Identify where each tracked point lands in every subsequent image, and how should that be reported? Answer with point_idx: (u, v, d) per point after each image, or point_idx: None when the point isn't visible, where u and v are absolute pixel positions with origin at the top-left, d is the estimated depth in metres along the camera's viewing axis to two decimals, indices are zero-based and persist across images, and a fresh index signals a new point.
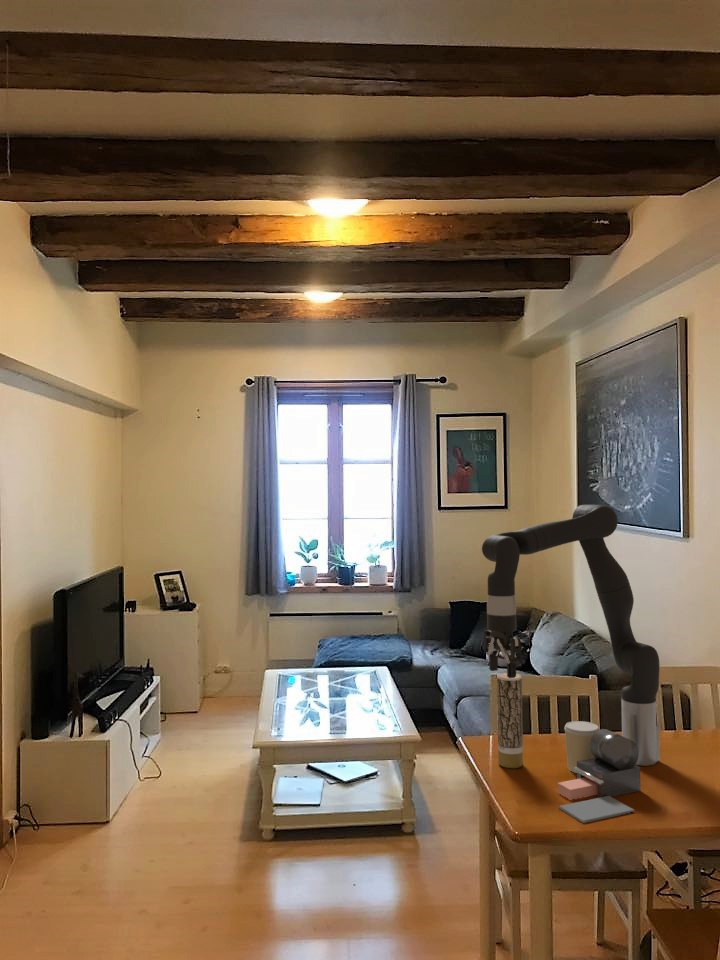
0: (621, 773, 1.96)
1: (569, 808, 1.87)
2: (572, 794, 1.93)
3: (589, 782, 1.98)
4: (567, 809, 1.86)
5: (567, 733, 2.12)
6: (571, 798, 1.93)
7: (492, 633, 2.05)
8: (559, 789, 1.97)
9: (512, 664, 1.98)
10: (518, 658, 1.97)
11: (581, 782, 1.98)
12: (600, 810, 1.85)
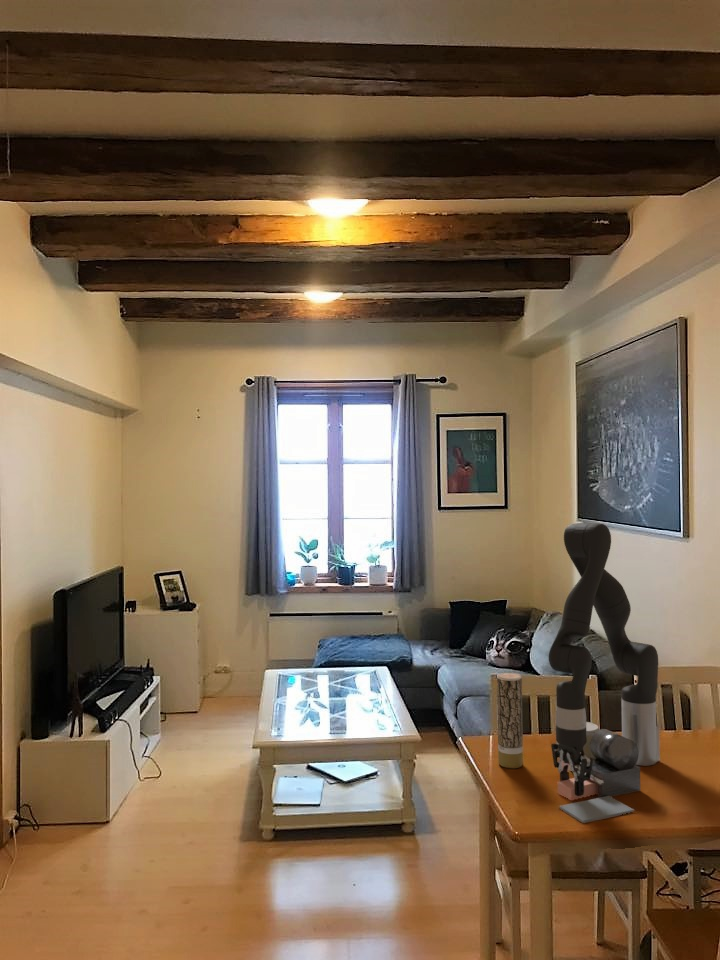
0: (621, 773, 1.96)
1: (569, 808, 1.87)
2: (572, 792, 1.93)
3: (588, 780, 1.98)
4: (567, 809, 1.86)
5: None
6: (572, 797, 1.93)
7: (560, 744, 1.99)
8: (559, 788, 1.97)
9: (580, 782, 1.93)
10: (587, 777, 1.91)
11: None
12: (600, 810, 1.85)
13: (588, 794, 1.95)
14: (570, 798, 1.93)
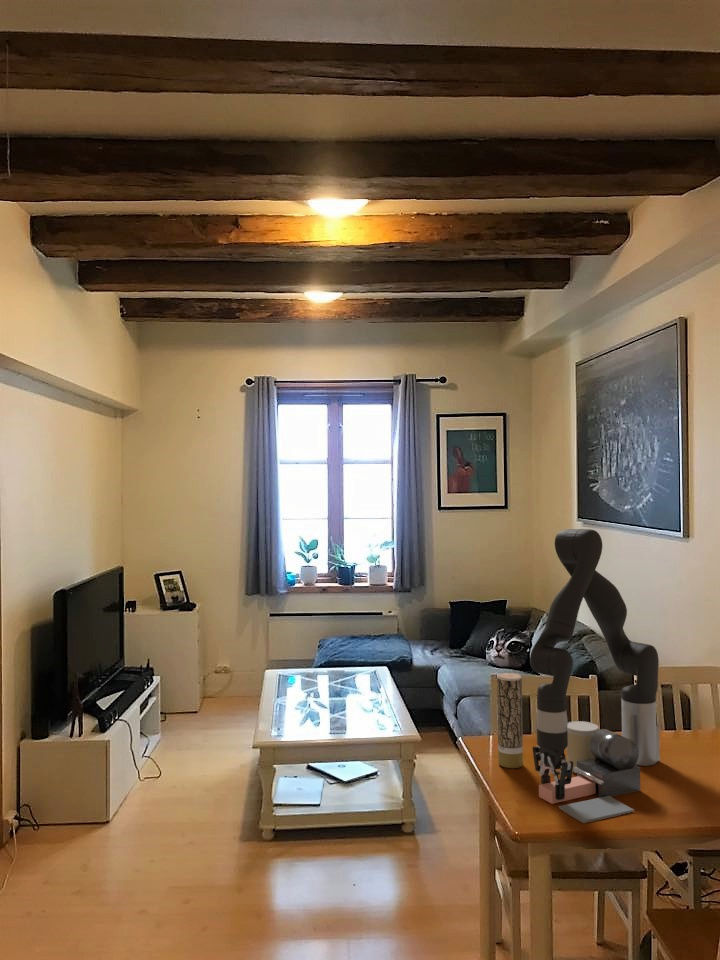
0: (621, 773, 1.96)
1: (569, 808, 1.87)
2: (553, 796, 1.91)
3: (570, 783, 1.96)
4: (567, 809, 1.86)
5: None
6: (553, 800, 1.91)
7: (541, 747, 1.96)
8: (540, 791, 1.95)
9: (561, 786, 1.90)
10: (567, 780, 1.89)
11: None
12: (600, 810, 1.85)
13: (569, 797, 1.93)
14: (551, 801, 1.91)
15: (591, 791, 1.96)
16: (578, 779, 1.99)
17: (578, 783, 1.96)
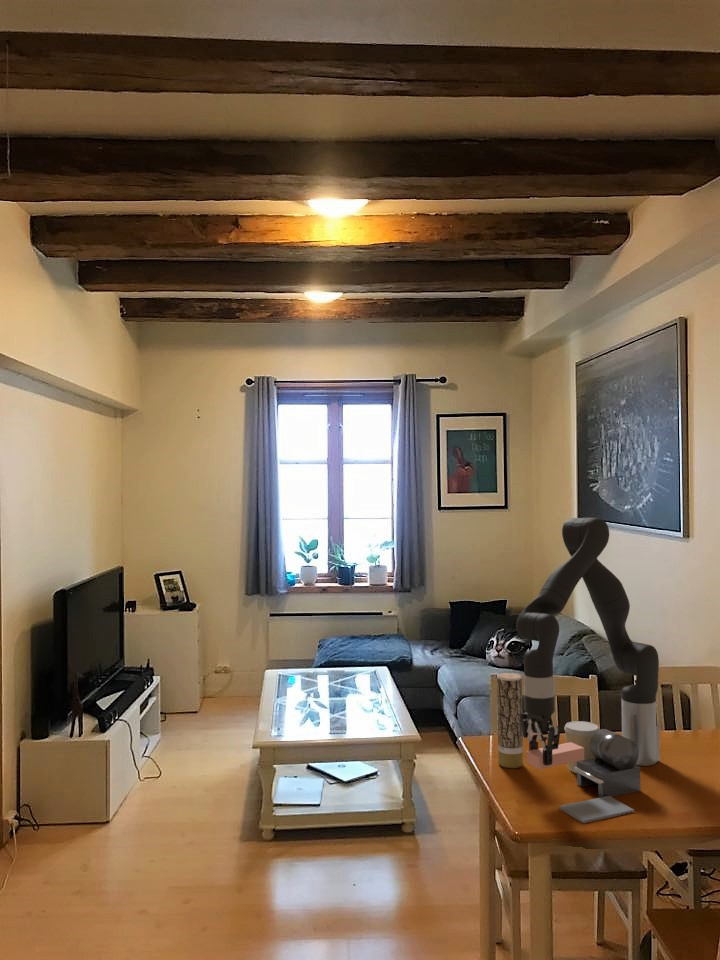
0: (621, 773, 1.96)
1: (569, 808, 1.87)
2: (541, 761, 1.90)
3: (558, 749, 1.95)
4: (567, 809, 1.86)
5: (567, 733, 2.12)
6: (540, 766, 1.90)
7: (528, 714, 1.95)
8: (528, 757, 1.94)
9: (548, 751, 1.89)
10: (555, 745, 1.88)
11: None
12: (600, 810, 1.85)
13: (557, 763, 1.92)
14: (538, 767, 1.90)
15: (579, 757, 1.95)
16: (566, 745, 1.97)
17: (566, 749, 1.95)
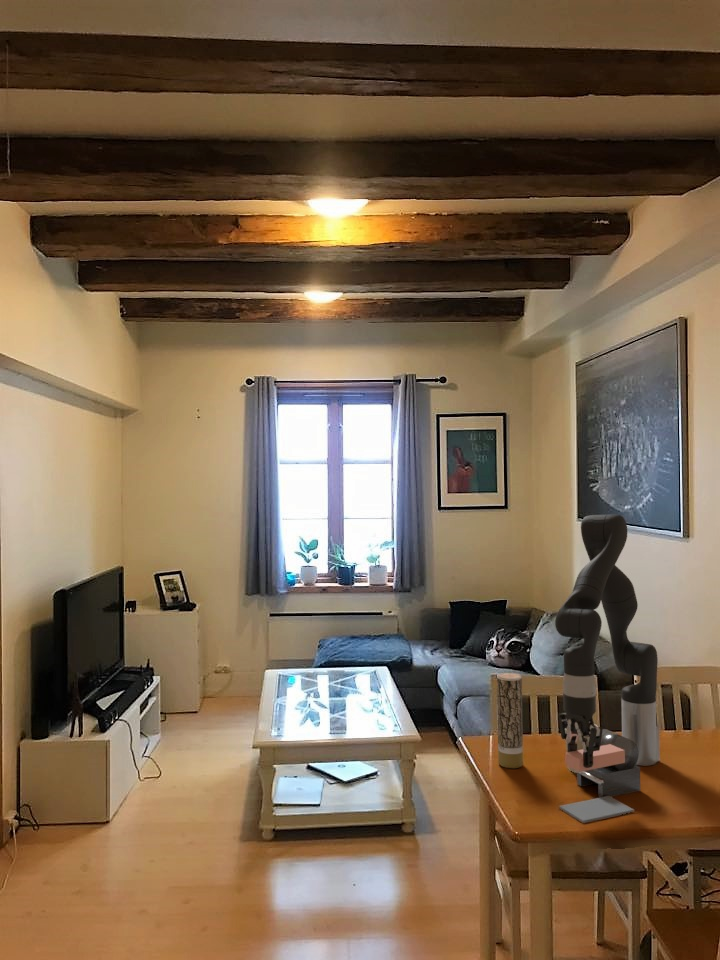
0: (621, 773, 1.96)
1: (569, 808, 1.87)
2: (581, 763, 1.82)
3: (598, 751, 1.87)
4: (567, 809, 1.86)
5: None
6: (580, 768, 1.82)
7: (568, 714, 1.88)
8: (567, 759, 1.86)
9: (589, 753, 1.82)
10: (596, 747, 1.80)
11: None
12: (600, 810, 1.85)
13: (598, 766, 1.84)
14: (578, 769, 1.82)
15: (620, 760, 1.87)
16: (606, 747, 1.90)
17: (607, 751, 1.87)
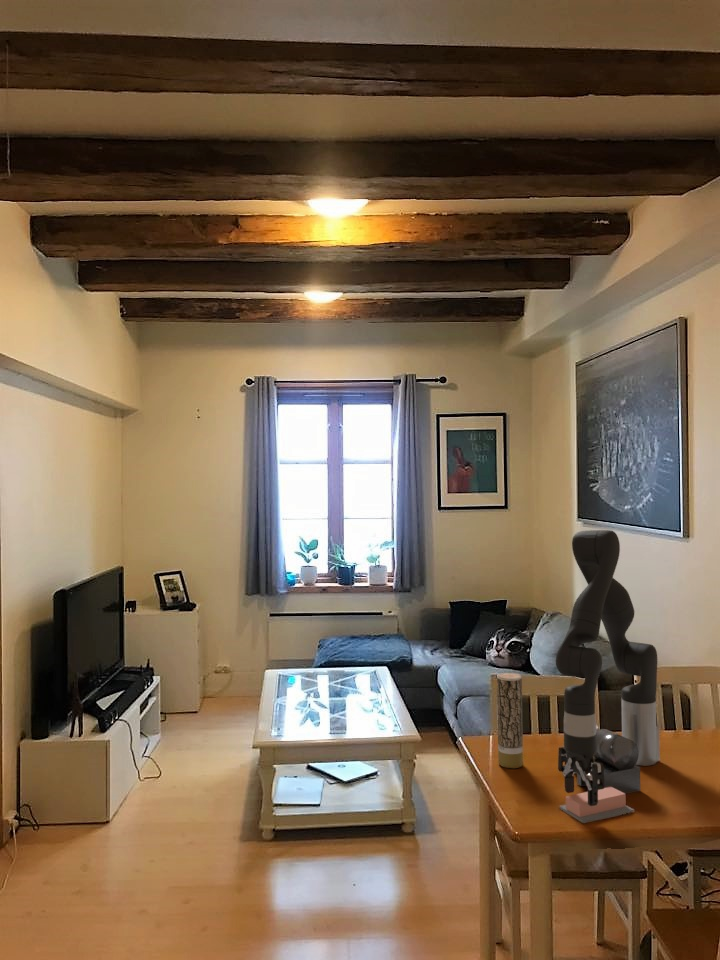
0: (621, 773, 1.96)
1: None
2: (581, 808, 1.82)
3: (599, 795, 1.87)
4: None
5: None
6: (580, 813, 1.82)
7: (569, 752, 1.88)
8: (567, 803, 1.86)
9: (594, 791, 1.80)
10: (601, 785, 1.79)
11: None
12: None
13: (598, 810, 1.84)
14: (578, 814, 1.82)
15: (621, 803, 1.87)
16: (607, 791, 1.90)
17: (607, 795, 1.87)
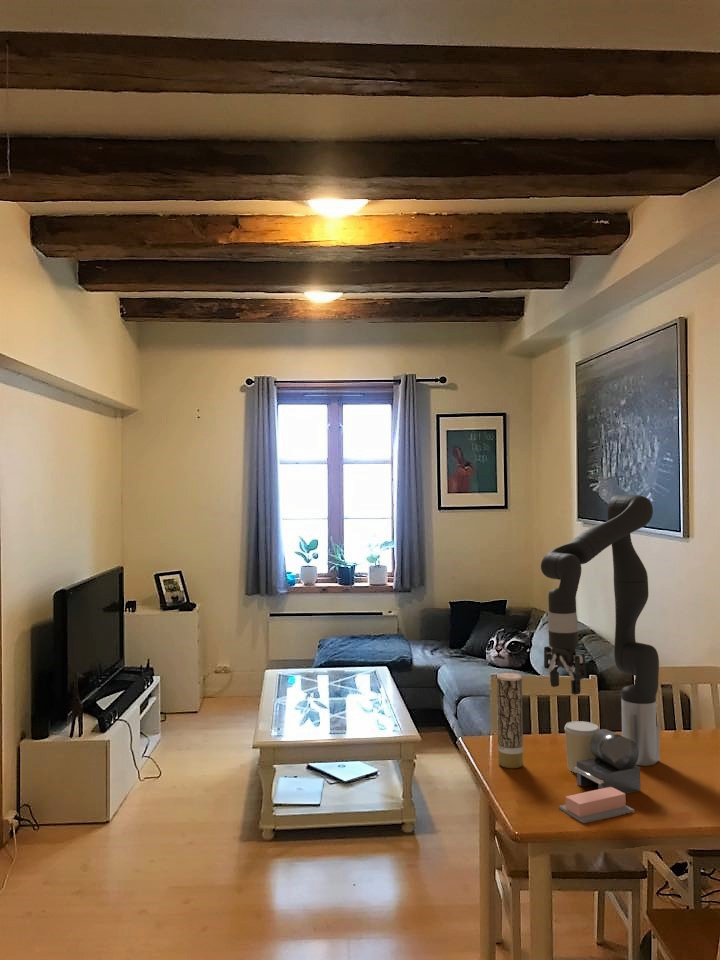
0: (621, 773, 1.96)
1: None
2: (581, 808, 1.82)
3: (599, 795, 1.87)
4: None
5: (567, 733, 2.12)
6: (580, 813, 1.82)
7: (553, 649, 2.06)
8: (567, 803, 1.86)
9: (577, 681, 1.99)
10: (583, 675, 1.98)
11: (590, 795, 1.87)
12: None
13: (598, 810, 1.84)
14: (578, 814, 1.82)
15: (621, 803, 1.87)
16: (607, 791, 1.90)
17: (607, 795, 1.87)
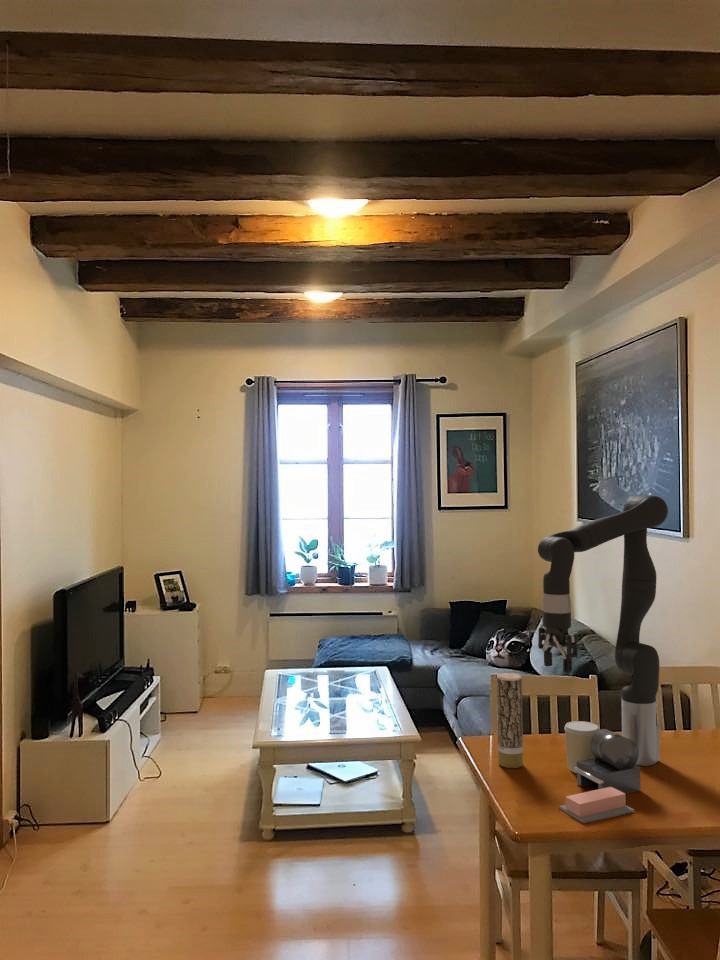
0: (621, 773, 1.96)
1: None
2: (581, 808, 1.82)
3: (599, 795, 1.87)
4: None
5: (567, 733, 2.12)
6: (580, 813, 1.82)
7: (547, 630, 2.14)
8: (567, 803, 1.86)
9: (568, 660, 2.07)
10: (574, 654, 2.06)
11: (590, 795, 1.87)
12: None
13: (598, 810, 1.84)
14: (578, 814, 1.82)
15: (621, 803, 1.87)
16: (607, 791, 1.90)
17: (607, 795, 1.87)
